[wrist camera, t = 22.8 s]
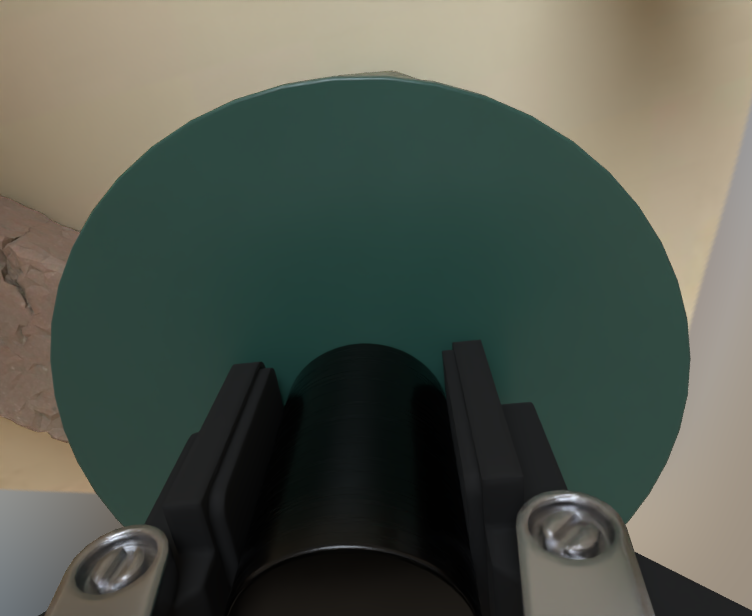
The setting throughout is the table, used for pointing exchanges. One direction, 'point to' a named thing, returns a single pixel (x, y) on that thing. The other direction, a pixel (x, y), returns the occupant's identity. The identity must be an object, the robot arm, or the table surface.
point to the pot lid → (366, 326)
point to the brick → (29, 314)
